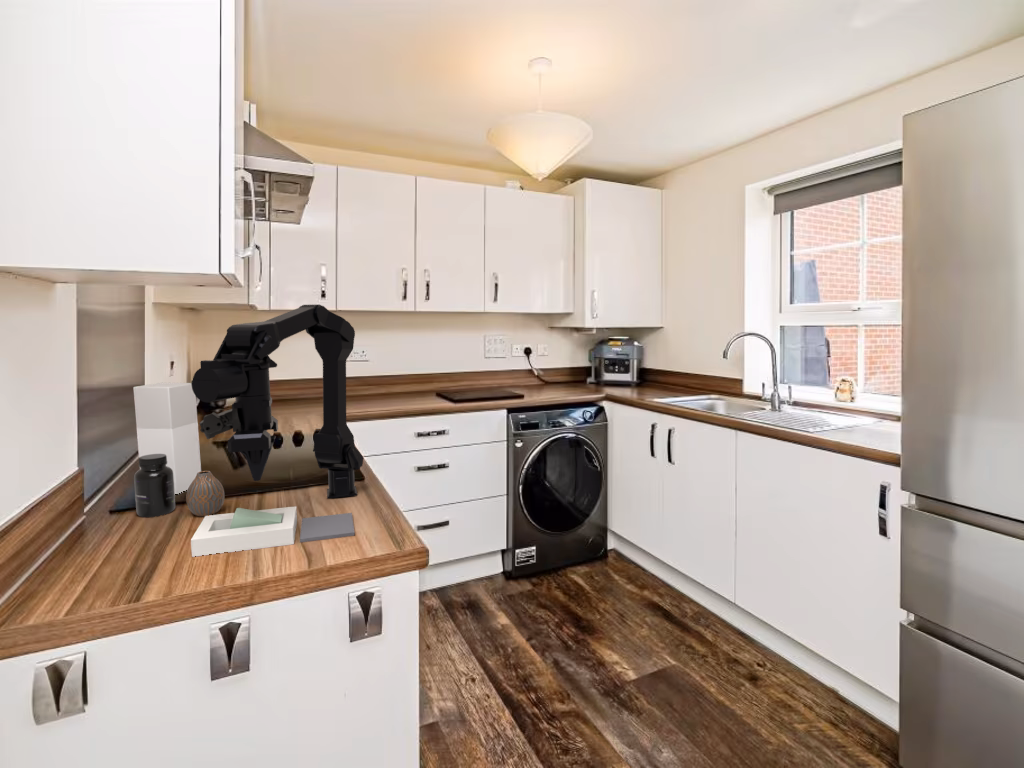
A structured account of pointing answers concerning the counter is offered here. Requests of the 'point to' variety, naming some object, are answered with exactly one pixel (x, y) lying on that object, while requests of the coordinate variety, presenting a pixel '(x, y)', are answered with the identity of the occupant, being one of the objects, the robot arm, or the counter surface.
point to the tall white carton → (169, 428)
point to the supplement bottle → (154, 486)
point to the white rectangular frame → (243, 533)
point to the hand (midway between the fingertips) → (257, 478)
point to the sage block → (253, 518)
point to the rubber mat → (327, 527)
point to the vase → (205, 494)
